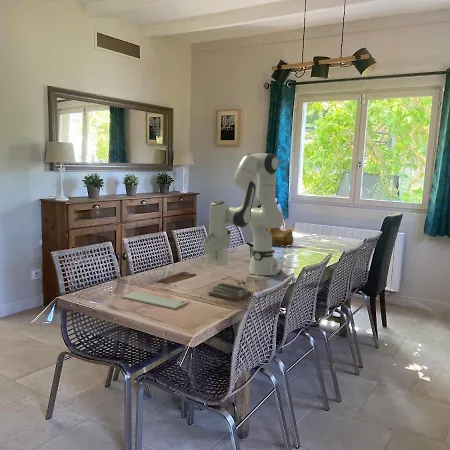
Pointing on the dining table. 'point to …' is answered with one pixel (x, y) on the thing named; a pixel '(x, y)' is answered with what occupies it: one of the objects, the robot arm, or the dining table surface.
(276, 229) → the rough brown rock
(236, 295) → the track base
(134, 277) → the dining table surface
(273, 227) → the robot arm
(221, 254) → the pale green rectangular block
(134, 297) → the baseboard molding
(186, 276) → the wooden tablet
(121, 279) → the dining table surface
